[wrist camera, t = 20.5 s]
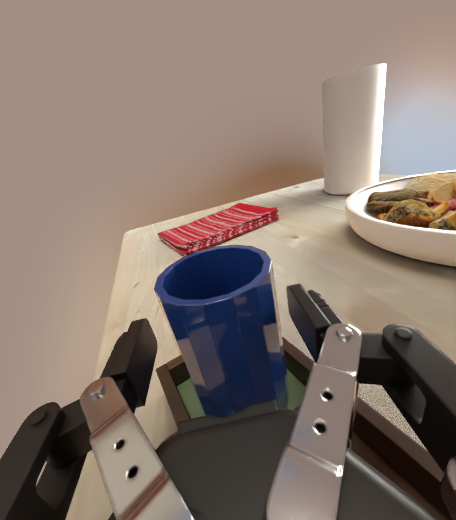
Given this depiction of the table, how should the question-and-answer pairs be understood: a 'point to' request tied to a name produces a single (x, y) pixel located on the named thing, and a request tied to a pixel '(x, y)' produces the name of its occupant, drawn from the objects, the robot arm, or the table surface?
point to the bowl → (409, 216)
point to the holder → (364, 438)
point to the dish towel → (217, 228)
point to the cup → (226, 327)
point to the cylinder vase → (353, 129)
